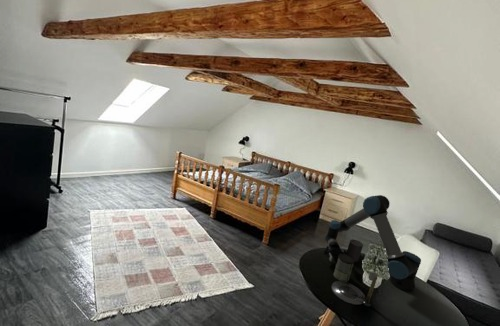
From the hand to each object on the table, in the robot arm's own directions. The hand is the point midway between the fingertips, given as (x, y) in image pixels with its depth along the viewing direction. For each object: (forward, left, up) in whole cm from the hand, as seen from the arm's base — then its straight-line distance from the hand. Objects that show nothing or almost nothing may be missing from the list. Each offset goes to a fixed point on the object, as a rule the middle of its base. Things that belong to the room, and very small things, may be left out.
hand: (341, 261), depth 190 cm
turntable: (-1, +21, -8) cm, 23 cm away
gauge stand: (-10, +28, -8) cm, 31 cm away
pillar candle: (-17, -23, -8) cm, 29 cm away
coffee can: (-1, +5, -8) cm, 10 cm away
